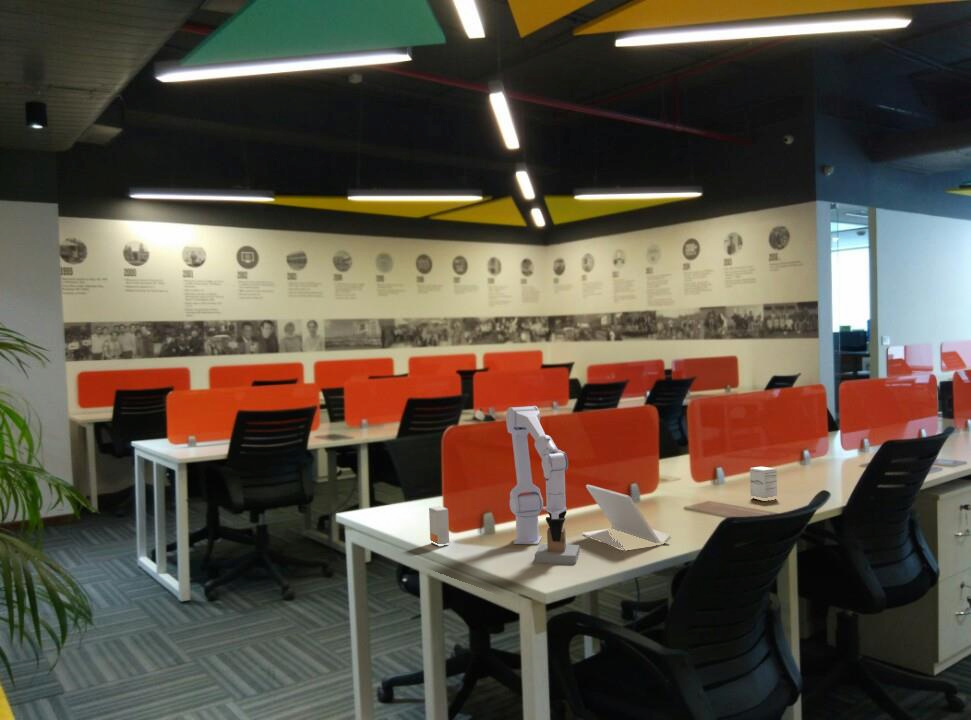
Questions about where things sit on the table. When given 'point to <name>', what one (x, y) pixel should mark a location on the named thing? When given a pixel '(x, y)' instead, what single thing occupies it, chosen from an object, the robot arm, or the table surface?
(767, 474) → the supplement box
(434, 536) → the skincare box
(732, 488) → the table surface
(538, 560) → the slate block
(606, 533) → the tablet stand
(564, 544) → the walnut block
